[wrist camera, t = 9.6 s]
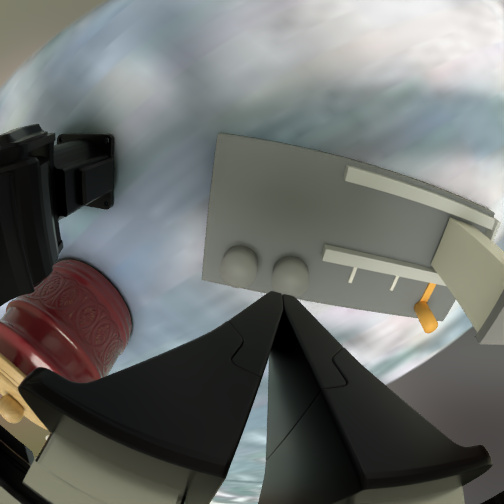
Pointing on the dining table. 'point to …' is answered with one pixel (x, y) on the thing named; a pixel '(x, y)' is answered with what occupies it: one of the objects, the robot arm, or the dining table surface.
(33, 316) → the canister
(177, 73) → the dining table surface
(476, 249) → the fader tab
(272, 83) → the dining table surface
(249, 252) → the console
